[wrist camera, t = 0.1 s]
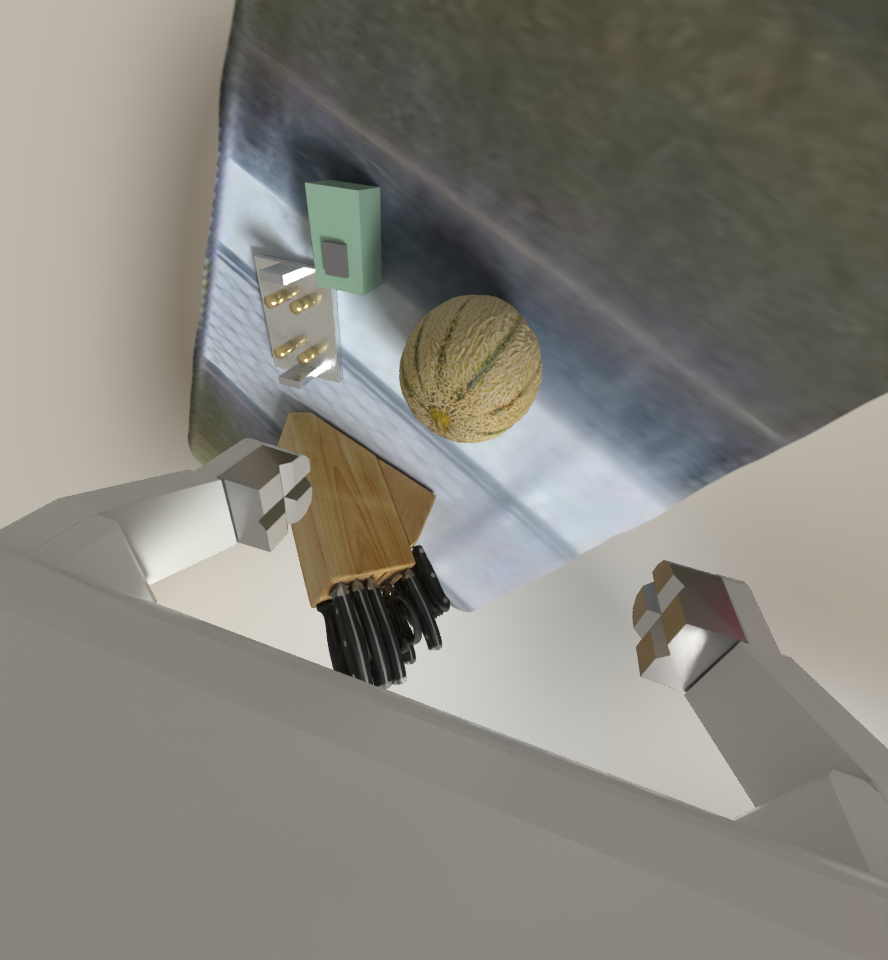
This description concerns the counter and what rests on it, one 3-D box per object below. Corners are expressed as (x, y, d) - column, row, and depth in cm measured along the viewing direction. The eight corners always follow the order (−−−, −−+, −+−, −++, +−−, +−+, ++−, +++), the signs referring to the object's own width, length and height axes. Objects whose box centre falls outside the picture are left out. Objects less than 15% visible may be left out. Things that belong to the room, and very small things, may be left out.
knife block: (449, 553, 72) (383, 735, 50) (284, 445, 67) (125, 594, 44) (484, 525, 65) (424, 723, 42) (301, 400, 60) (120, 552, 37)
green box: (331, 179, 40) (301, 182, 36) (380, 187, 39) (355, 191, 35) (339, 275, 46) (314, 287, 42) (382, 283, 45) (360, 296, 41)
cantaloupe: (559, 283, 40) (545, 332, 29) (538, 409, 49) (521, 483, 38) (422, 275, 43) (363, 316, 32) (427, 395, 52) (382, 459, 41)
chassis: (260, 254, 47) (230, 263, 43) (335, 270, 45) (311, 280, 42) (280, 362, 56) (257, 378, 52) (343, 379, 55) (324, 395, 51)
